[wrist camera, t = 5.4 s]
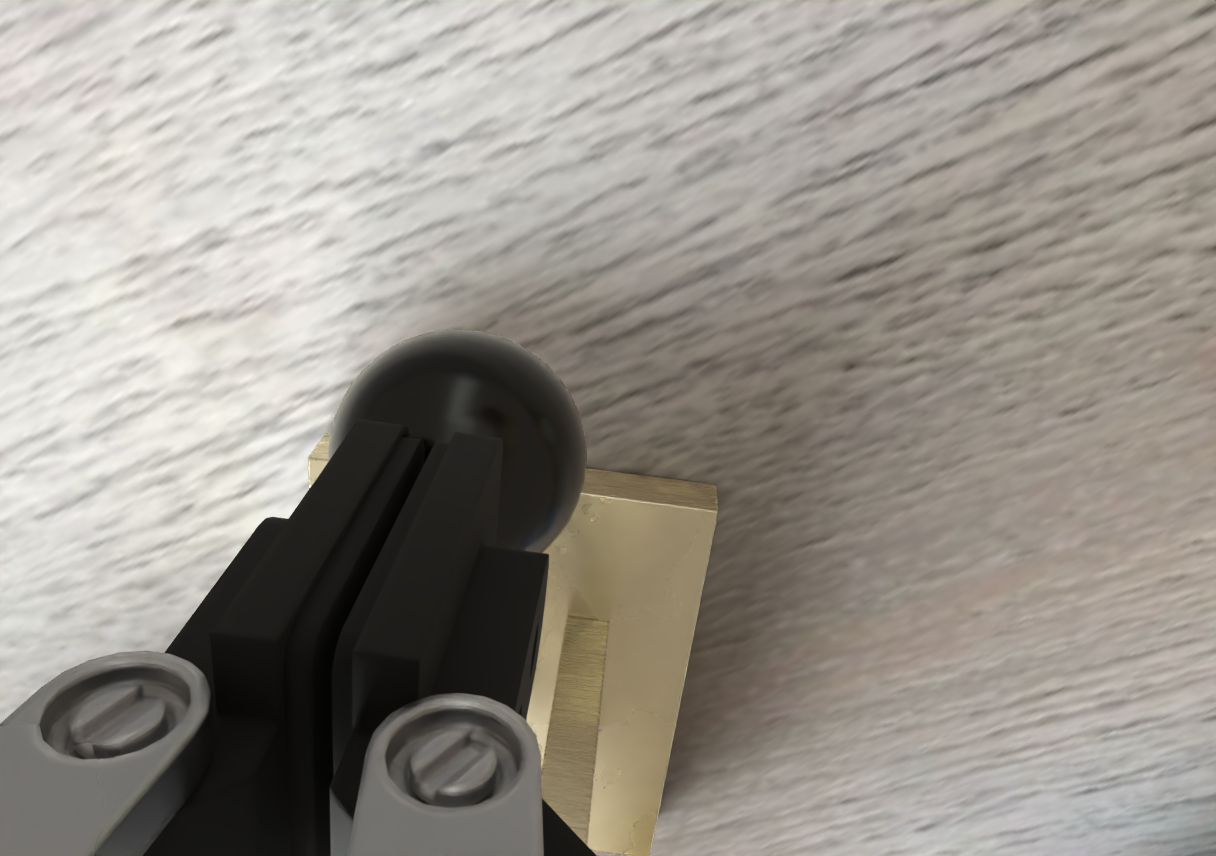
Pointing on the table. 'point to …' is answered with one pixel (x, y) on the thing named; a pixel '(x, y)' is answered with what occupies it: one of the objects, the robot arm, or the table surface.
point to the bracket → (615, 649)
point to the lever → (483, 420)
